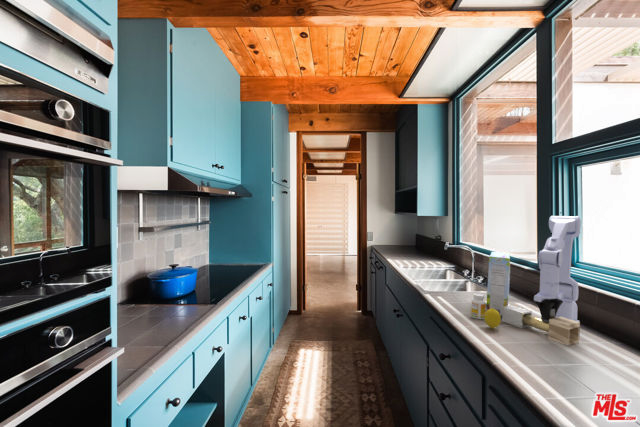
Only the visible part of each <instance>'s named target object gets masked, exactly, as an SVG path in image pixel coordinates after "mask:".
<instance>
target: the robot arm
mask: <svg viewBox="0 0 640 427" xmlns="http://www.w3.org/2000/svg"><path fill="white" fill-rule="evenodd" d="M581 226H582V225H581V217H580V216H578V215H576V216H572V215H571V216H570V215H569V216H568V215H551V216H550V217H549V219H548V228H549V230H550V233H552V234H551V236H549V237H548V238H547V239H546V241H545V245H544V246H543V249H542V250H539V252H538V269H540V271H539V273H540V274H539V292H538V293H537V294H534V296H533V301H534V302H535V303H536V305H537V307H538V309H539V312H540V313H539V314H540V316H541V317H542V319H545V320H549V318H550V312H551V309H552V308H555V318H557V317H564V318H567V319H570V320H574V321H577V322H580V320H578V305H577V303H576V301H578V299H579V291H580V290H579V283H578V281H577V280H575V279H574V278H572V277H571V272H572V271H571V270H572V269H571V268H572V257H573V256H572V254H573V253H572V252H573V243H574V240H575V238H578V237H580V234H581ZM541 317H540V318H541ZM580 323H581V322H580Z"/></svg>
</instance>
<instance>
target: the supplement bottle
mask: <svg viewBox="0 0 640 427" xmlns="http://www.w3.org/2000/svg"><path fill="white" fill-rule="evenodd" d="M484 299H485V295H484V294H482V293H473V298H472V299H471V304H470V306H471V307H470V308H471V309H470V310H471V311H470V316H471V318H473V319H476V320H485V319H484V316H485V313H486V304H487V301H486V300H484Z"/></svg>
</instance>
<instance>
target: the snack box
mask: <svg viewBox="0 0 640 427" xmlns="http://www.w3.org/2000/svg"><path fill="white" fill-rule="evenodd" d="M487 273H488V274H487V288H486V310H485V312H486V311H487V310H489V309H491V308H494V309H495V310H497V311H498V312H499V314H500V317H502V313H503V307H505V306H509V298H510V296H509V295H510V280H511V278H510V277H511V255H510V253H508V252H498V251H492V252H490V255H489V256H488V272H487Z"/></svg>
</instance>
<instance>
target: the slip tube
mask: <svg viewBox="0 0 640 427" xmlns="http://www.w3.org/2000/svg"><path fill="white" fill-rule="evenodd" d="M552 318H555V308H552V309H551V312H550V318H549V319H552ZM523 324H525V325H528V326H530V327H531V328H534V329H537V330H541V331H543V332H545V333H549V320H545V319H542V317H536V316H534V315H532V316H531V315H528V314H523Z"/></svg>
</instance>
